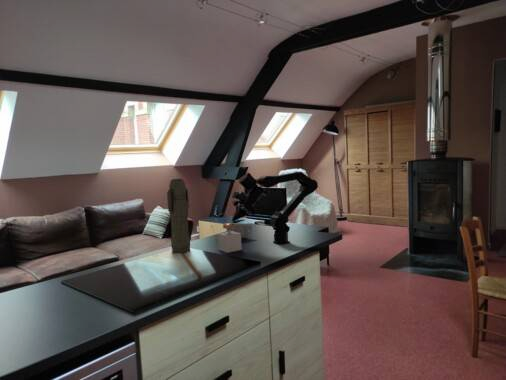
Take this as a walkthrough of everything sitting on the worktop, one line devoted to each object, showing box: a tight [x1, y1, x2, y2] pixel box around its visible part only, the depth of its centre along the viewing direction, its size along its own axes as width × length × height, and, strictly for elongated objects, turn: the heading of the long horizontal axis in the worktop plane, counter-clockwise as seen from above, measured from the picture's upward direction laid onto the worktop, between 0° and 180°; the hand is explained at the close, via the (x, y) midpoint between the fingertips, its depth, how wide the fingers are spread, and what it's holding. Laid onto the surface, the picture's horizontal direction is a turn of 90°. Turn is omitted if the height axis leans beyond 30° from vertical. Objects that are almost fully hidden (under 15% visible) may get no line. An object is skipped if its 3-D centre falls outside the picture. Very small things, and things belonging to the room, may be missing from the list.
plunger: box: [222, 222, 235, 234], centre depth 185 cm, size 6×6×7 cm
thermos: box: [166, 178, 191, 254], centre depth 185 cm, size 9×12×35 cm
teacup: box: [226, 222, 253, 240], centre depth 210 cm, size 14×11×8 cm
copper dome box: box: [217, 231, 242, 254], centre depth 187 cm, size 8×10×8 cm
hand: (232, 220), depth 186 cm, fingers closed
